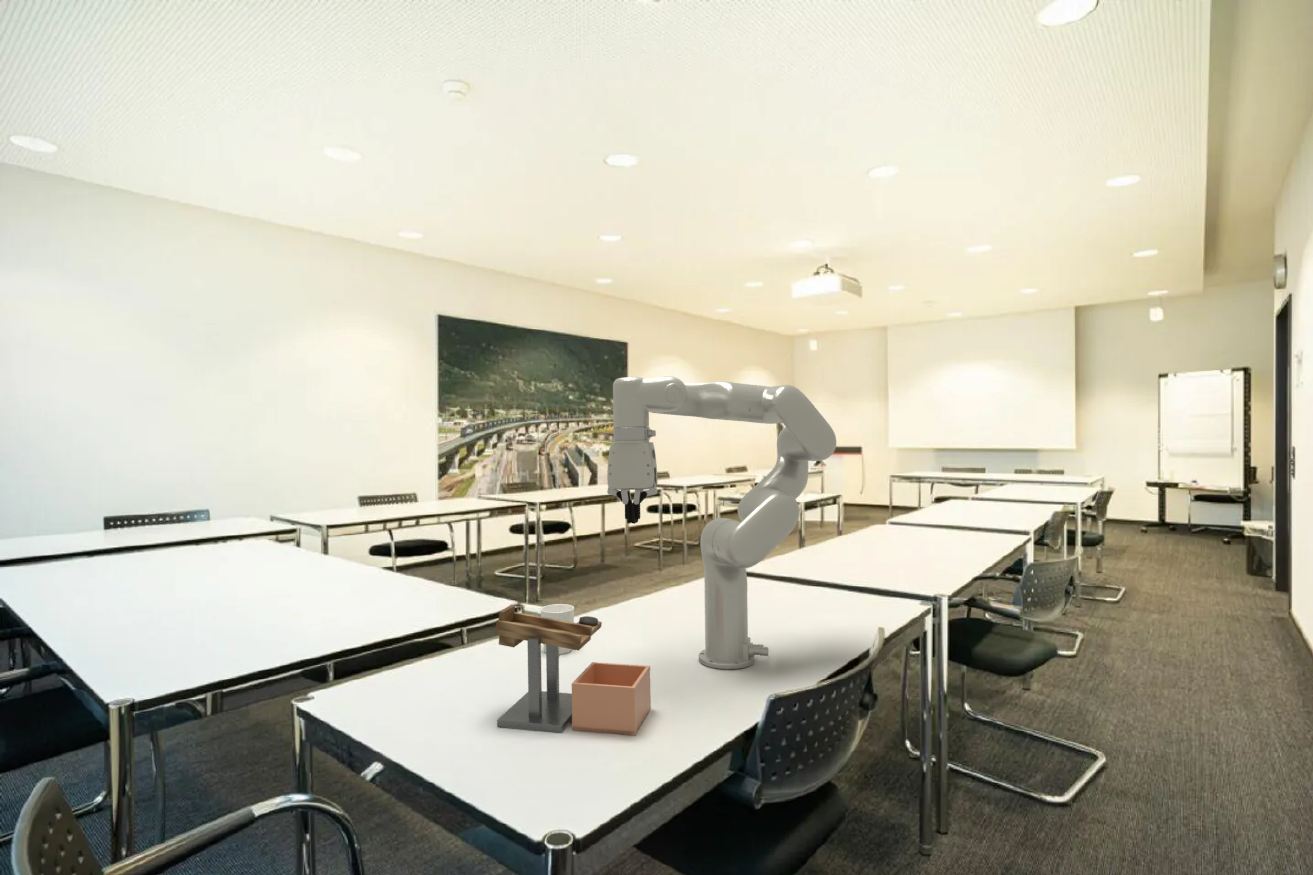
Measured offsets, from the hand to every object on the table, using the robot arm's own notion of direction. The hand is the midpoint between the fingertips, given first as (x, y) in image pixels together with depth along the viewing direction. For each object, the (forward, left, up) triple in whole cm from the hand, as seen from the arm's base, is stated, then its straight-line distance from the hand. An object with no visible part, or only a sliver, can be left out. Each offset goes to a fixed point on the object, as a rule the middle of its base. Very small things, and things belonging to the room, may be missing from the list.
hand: (632, 522), depth 145 cm
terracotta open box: (-2, +23, -32) cm, 40 cm away
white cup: (+22, -12, -32) cm, 41 cm away
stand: (+11, +23, -32) cm, 41 cm away
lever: (+11, +19, -20) cm, 30 cm away
